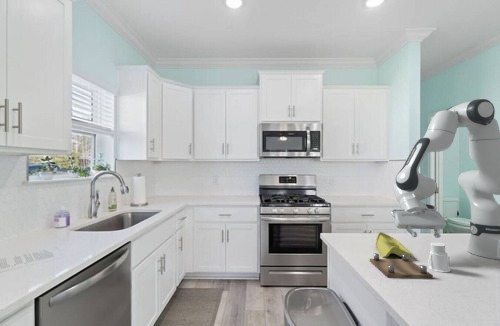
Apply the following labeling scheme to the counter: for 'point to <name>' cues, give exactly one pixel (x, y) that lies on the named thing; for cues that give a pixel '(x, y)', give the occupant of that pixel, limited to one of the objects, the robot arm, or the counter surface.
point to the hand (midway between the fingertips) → (426, 236)
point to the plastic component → (389, 246)
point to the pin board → (400, 268)
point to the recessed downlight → (438, 258)
